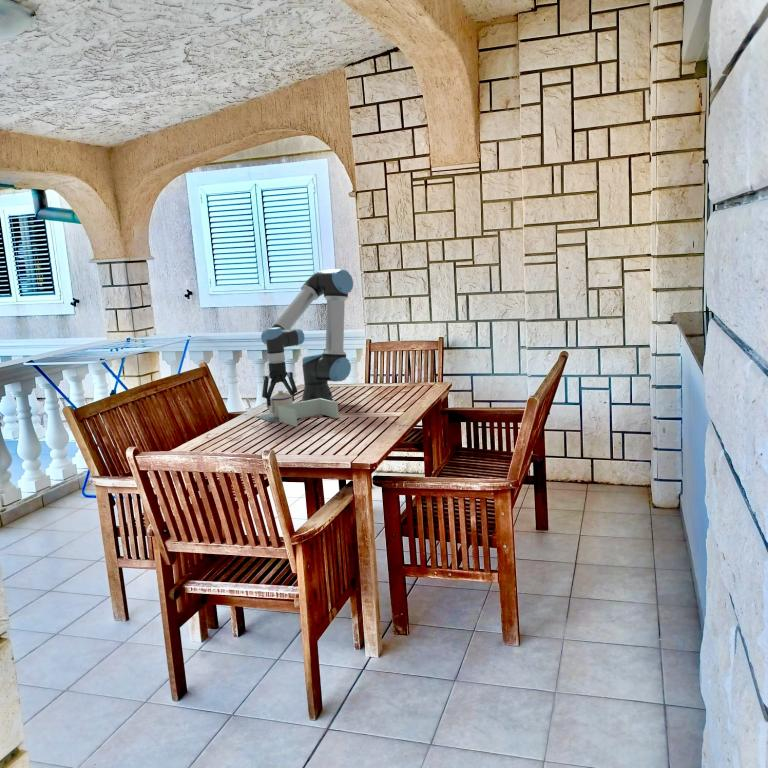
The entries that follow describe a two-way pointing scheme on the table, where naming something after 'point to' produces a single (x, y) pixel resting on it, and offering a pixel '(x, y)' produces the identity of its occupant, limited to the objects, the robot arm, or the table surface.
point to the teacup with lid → (280, 401)
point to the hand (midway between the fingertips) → (281, 410)
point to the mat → (269, 418)
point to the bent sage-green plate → (307, 410)
